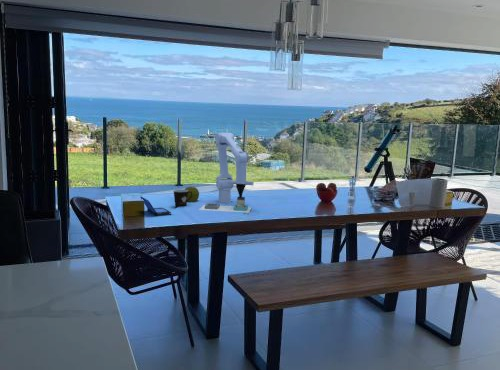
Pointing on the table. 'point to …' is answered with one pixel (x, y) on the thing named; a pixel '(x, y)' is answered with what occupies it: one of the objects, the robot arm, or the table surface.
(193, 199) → the apple
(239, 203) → the plug
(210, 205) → the panel
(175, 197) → the coffee mug
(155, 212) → the handheld game console
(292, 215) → the table surface
